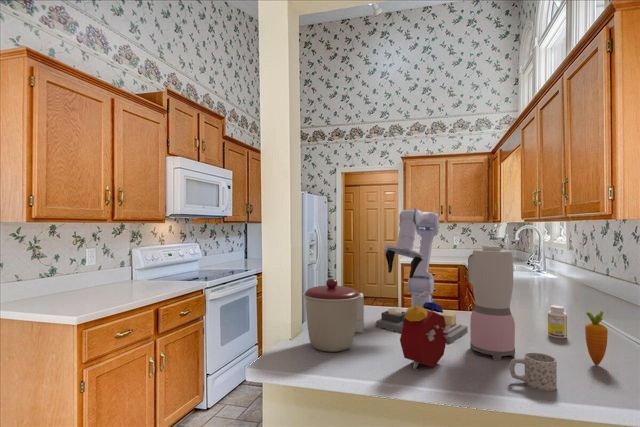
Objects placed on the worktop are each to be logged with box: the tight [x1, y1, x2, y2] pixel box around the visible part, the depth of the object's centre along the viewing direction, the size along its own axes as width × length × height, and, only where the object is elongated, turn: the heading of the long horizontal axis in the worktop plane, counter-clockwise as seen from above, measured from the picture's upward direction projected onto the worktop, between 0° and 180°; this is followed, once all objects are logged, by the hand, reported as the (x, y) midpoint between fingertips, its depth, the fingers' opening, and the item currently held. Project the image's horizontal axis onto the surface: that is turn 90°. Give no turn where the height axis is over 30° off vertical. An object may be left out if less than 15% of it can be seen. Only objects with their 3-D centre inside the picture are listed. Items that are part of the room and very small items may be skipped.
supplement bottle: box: [547, 305, 568, 339], centre depth 126 cm, size 6×6×10 cm
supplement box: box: [355, 292, 365, 334], centre depth 132 cm, size 7×7×13 cm
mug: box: [509, 351, 558, 392], centre depth 89 cm, size 10×7×7 cm, turn 75°
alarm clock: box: [399, 291, 451, 370], centre depth 100 cm, size 15×9×20 cm, turn 133°
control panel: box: [375, 310, 469, 344], centre depth 133 cm, size 16×28×4 cm, turn 50°
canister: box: [302, 278, 361, 353], centre depth 114 cm, size 18×18×21 cm
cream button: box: [387, 308, 403, 315], centre depth 139 cm, size 5×5×2 cm
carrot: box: [584, 310, 609, 367], centre depth 101 cm, size 5×5×15 cm
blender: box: [467, 245, 516, 361], centre depth 112 cm, size 16×12×32 cm
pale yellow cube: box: [440, 312, 457, 328], centre depth 129 cm, size 4×4×4 cm
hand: (400, 274), depth 129 cm, fingers open, 7 cm apart
